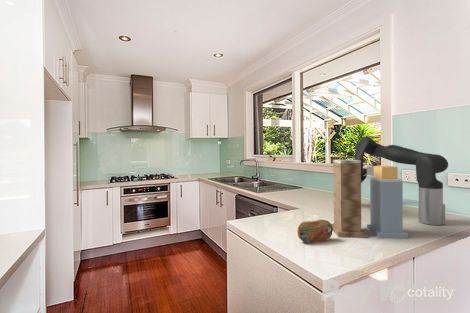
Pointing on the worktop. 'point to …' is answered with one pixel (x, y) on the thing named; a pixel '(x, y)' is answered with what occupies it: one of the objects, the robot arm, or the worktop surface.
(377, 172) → the block
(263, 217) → the worktop surface
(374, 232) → the grey block stand
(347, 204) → the post
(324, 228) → the tin
